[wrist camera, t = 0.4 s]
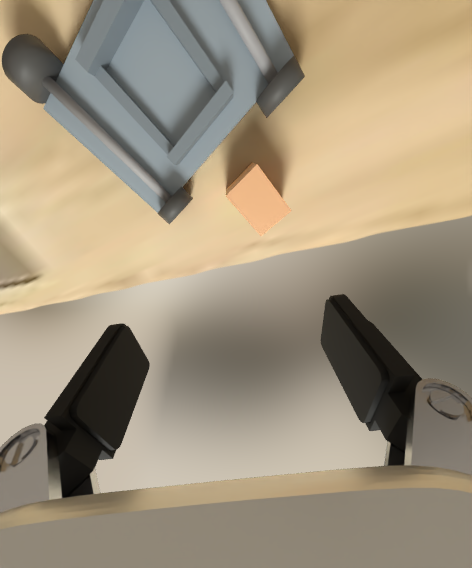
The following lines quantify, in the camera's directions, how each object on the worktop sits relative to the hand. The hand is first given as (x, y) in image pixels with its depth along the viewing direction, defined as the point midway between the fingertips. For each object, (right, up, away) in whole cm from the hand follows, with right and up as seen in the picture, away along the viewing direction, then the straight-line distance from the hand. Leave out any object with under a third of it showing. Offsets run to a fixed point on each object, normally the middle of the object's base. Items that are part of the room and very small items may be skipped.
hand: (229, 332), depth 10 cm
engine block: (+3, +16, +21) cm, 26 cm away
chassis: (-8, +25, +14) cm, 30 cm away
